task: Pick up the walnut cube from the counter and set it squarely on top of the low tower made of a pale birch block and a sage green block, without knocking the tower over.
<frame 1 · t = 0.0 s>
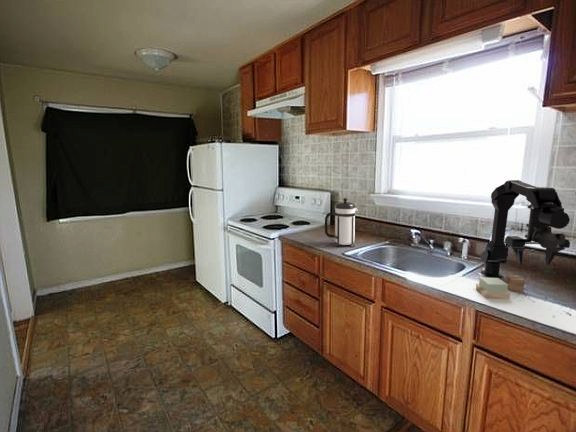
hand: (533, 264, 116), 15 cm above the worktop, tool pointing down, fingers open, 9 cm apart
birch base block: (491, 295, 127), on the worktop, touching sage top block
sage top block: (492, 288, 126), point 2 cm above the worktop, touching birch base block
coffee press: (342, 245, 201), on the worktop
walnut cube: (513, 288, 131), on the worktop
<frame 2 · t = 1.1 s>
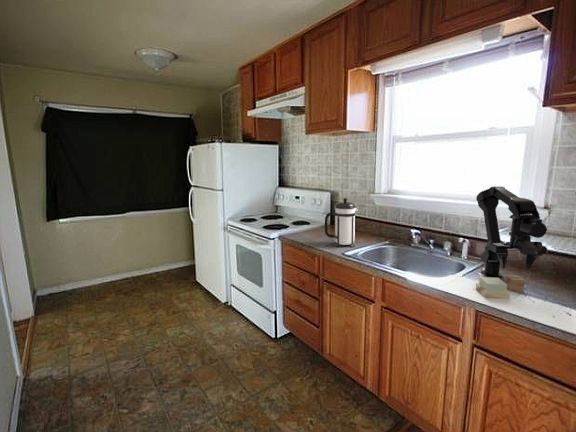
hand: (515, 268, 129), 9 cm above the worktop, tool pointing down, fingers open, 9 cm apart
nothing on the worktop moved.
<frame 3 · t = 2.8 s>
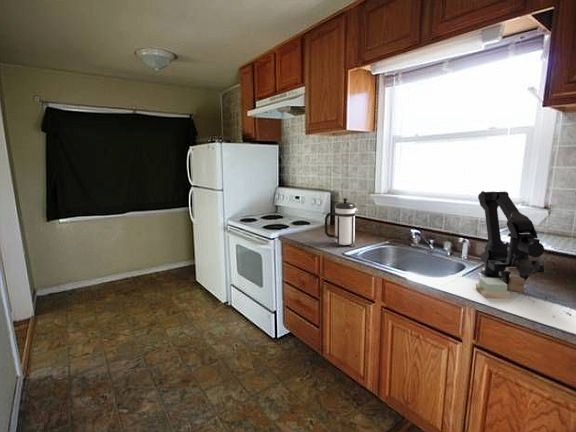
hand: (513, 286, 131), 1 cm above the worktop, tool pointing down, fingers closed on walnut cube, 5 cm apart
walnut cube: (513, 288, 131), on the worktop, touching gripper
everything else where it was.
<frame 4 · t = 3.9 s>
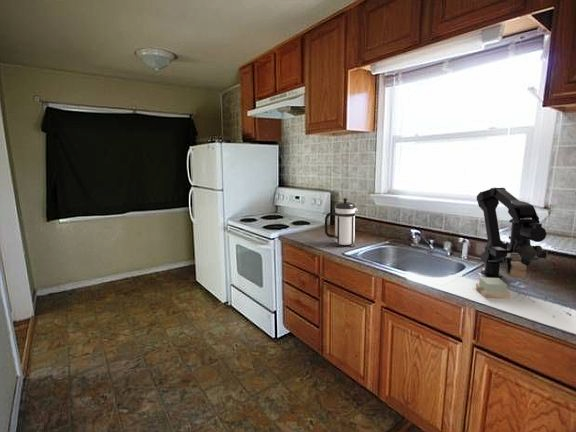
hand: (515, 272, 129), 7 cm above the worktop, tool pointing down, fingers closed on walnut cube, 5 cm apart
walnut cube: (515, 275, 130), point 6 cm above the worktop, touching gripper
everything else where it was.
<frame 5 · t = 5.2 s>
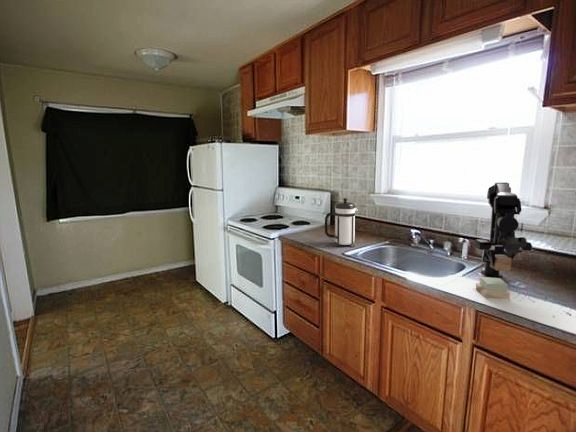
hand: (499, 266, 125), 11 cm above the worktop, tool pointing down, fingers closed on walnut cube, 5 cm apart
walnut cube: (499, 268, 125), point 10 cm above the worktop, touching gripper
everything else where it was.
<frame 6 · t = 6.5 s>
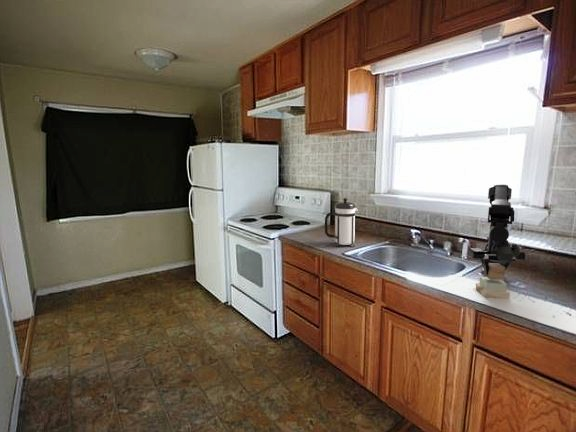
hand: (493, 274, 125), 8 cm above the worktop, tool pointing down, fingers closed on walnut cube, 5 cm apart
walnut cube: (493, 277, 125), point 7 cm above the worktop, touching gripper
everything else where it was.
when the fingers open (8 cm above the worktop, at t = 7.1 s): walnut cube drops 2 cm, resting on sage top block.
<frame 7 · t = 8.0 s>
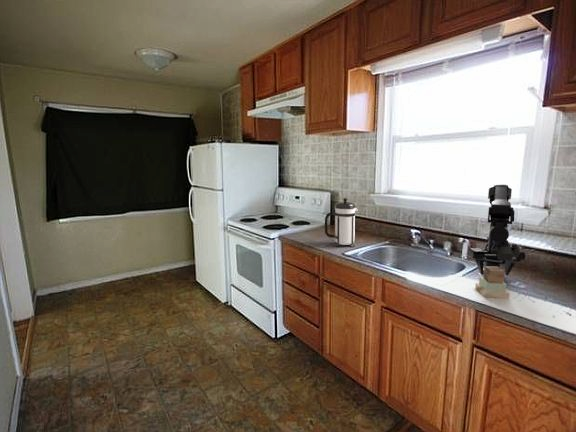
hand: (493, 274, 125), 8 cm above the worktop, tool pointing down, fingers open, 9 cm apart
sage top block: (491, 287, 126), point 2 cm above the worktop, touching birch base block, walnut cube
walnut cube: (493, 280, 126), point 5 cm above the worktop, touching sage top block
everything else where it was.
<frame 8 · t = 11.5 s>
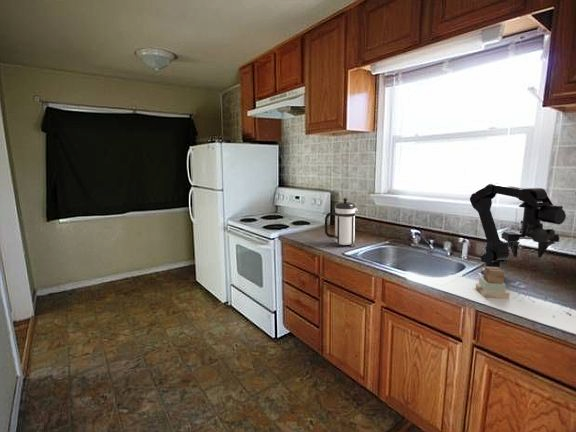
hand: (527, 257, 130), 13 cm above the worktop, tool pointing down, fingers open, 9 cm apart
nothing on the worktop moved.
at the end: walnut cube 0.3 cm off-centre on the birch base block, point 6.0 cm above the birch base block's base; walnut cube tilted 1°; sage top block 0.2 cm off-centre on the birch base block, point 3.0 cm above the birch base block's base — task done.
